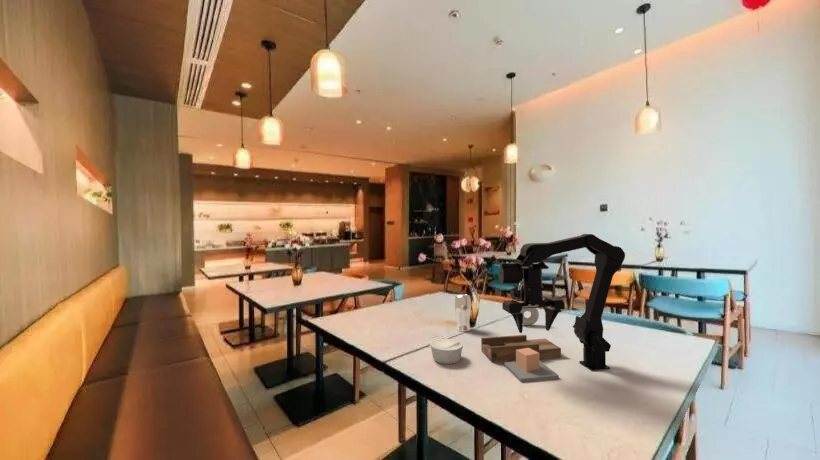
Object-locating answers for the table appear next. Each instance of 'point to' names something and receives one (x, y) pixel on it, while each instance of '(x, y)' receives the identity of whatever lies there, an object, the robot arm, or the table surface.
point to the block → (527, 359)
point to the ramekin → (446, 350)
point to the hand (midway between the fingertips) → (534, 331)
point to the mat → (531, 372)
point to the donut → (532, 318)
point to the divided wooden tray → (516, 347)
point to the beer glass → (463, 312)
